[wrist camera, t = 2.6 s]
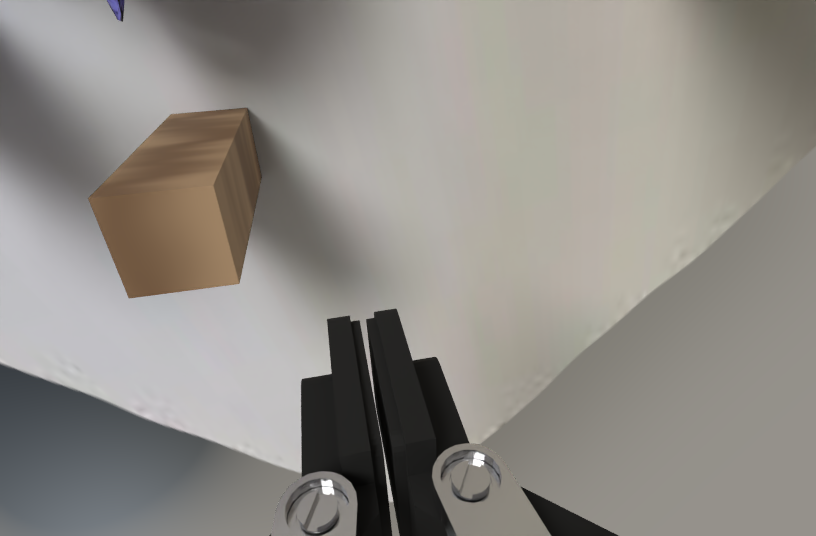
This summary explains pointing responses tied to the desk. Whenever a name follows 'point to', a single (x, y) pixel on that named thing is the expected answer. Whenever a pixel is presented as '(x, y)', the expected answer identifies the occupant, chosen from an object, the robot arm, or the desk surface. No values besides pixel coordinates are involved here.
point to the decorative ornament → (117, 8)
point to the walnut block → (182, 204)
